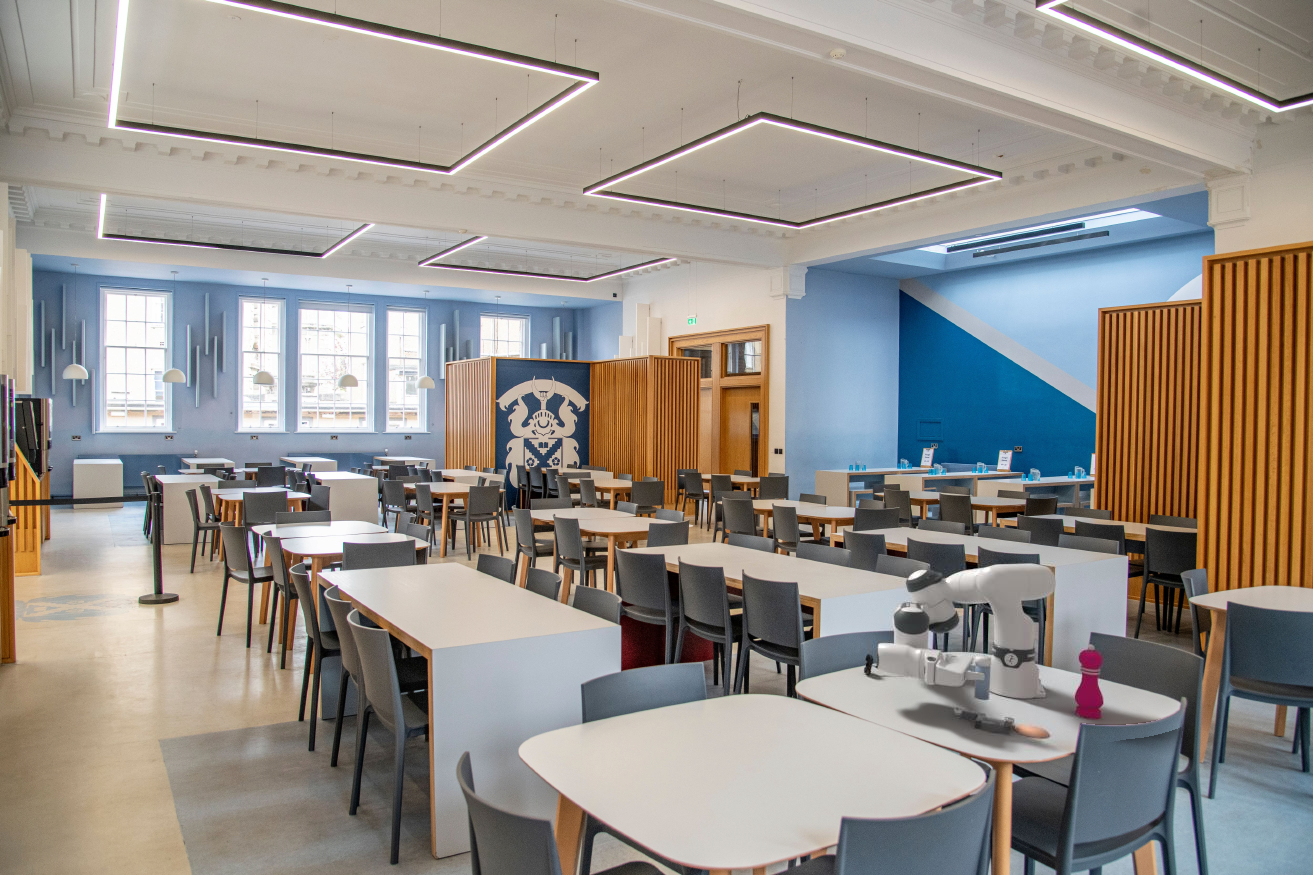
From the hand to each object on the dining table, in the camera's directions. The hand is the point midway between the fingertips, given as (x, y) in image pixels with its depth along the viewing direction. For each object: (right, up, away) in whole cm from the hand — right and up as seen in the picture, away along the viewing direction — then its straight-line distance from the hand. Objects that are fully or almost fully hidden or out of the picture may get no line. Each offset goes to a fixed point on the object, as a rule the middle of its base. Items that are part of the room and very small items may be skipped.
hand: (986, 674), depth 223 cm
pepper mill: (+32, -14, +8) cm, 36 cm away
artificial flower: (-11, -12, +42) cm, 45 cm away
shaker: (-1, -7, +1) cm, 7 cm away
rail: (-2, -13, -2) cm, 13 cm away
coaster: (+9, -13, -6) cm, 18 cm away
